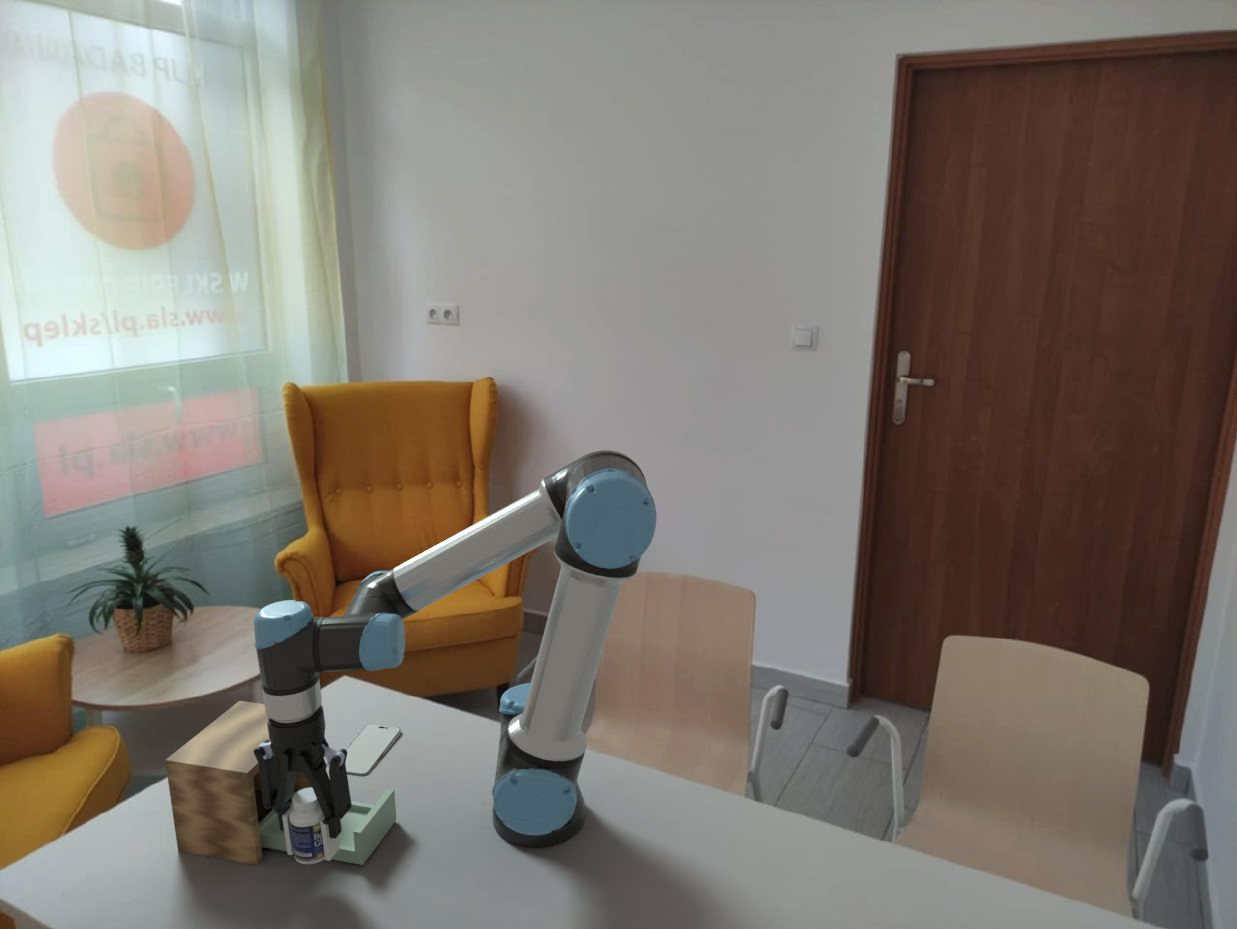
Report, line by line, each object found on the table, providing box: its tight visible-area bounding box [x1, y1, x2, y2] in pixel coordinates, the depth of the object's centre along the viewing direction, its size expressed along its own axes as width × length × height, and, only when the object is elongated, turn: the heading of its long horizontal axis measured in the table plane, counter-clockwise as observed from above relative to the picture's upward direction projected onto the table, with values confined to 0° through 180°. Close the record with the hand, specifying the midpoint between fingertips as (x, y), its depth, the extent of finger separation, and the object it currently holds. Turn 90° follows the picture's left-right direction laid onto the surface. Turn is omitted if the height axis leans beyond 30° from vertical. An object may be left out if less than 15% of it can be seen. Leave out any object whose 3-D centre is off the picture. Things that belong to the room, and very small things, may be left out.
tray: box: [258, 788, 397, 866], centre depth 144 cm, size 19×11×6 cm, turn 77°
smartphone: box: [345, 723, 402, 777], centre depth 167 cm, size 7×1×15 cm
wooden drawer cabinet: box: [164, 700, 312, 866], centre depth 145 cm, size 14×18×16 cm
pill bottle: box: [289, 788, 325, 865], centre depth 131 cm, size 5×5×10 cm
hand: (313, 851), depth 132 cm, fingers closed on pill bottle, 5 cm apart
